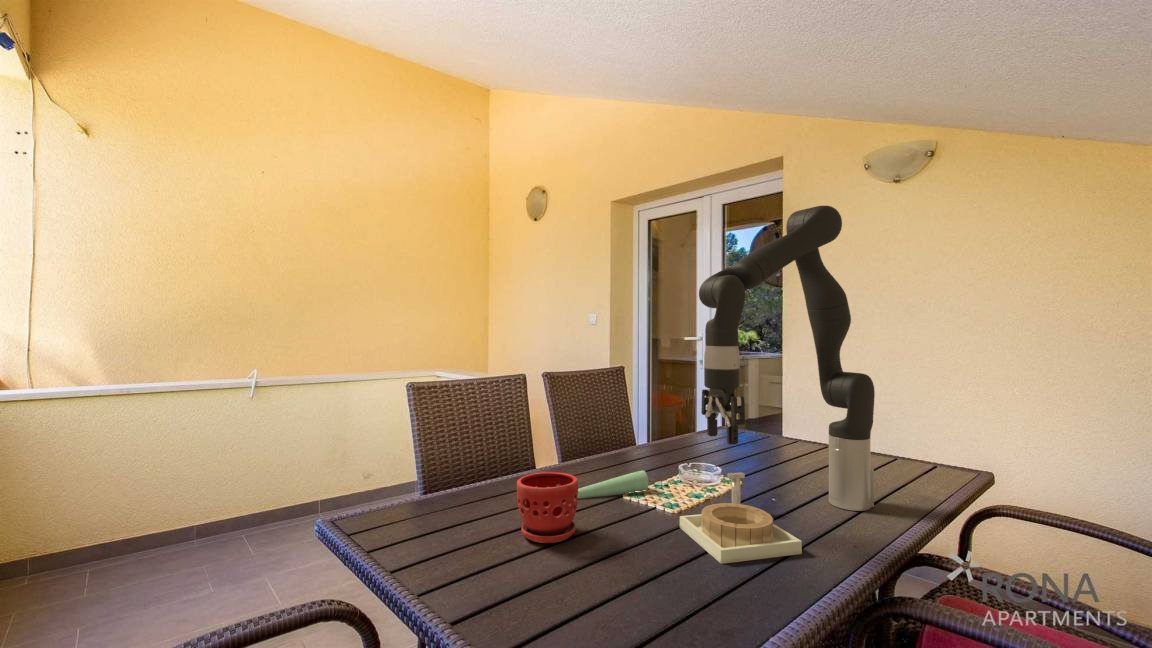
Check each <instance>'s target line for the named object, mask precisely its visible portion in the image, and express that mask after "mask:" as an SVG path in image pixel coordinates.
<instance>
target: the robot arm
mask: <svg viewBox="0 0 1152 648" xmlns="http://www.w3.org/2000/svg"><path fill="white" fill-rule="evenodd" d="M842 228H843V218H842V216H841V214H840V212H839V211H838V210H837V209H836V208H835V207H833V206H831V205H817V206H812V207H808V208H804V209H800V210H797V211H793V212H792V213H791V214H790V215H789V216H788V218H787V220H786V229H785V230H786V231H785V232H786V235H784V236H781V237H778V238H777V239H775V240H772V241H771V242H768V243H766V244H764V245H762V246H760V247H758V248H756V249H754V250H753V251H752V252H751V251H750V253H748V254H747V255H745V256H744V257H742V258H741V259H740V260H739V261H736V263H734V264H732V265H731V266H729V267H727V268H724V269H723V270H721V271H720V270H719V271H718V272H716V273H714V274H712V275H711V276H709V277H707V278H706V279H705V280H704V281H703V282H702V283H701V285H700V287H699V290H698V298H699V300H700V302H701V304H702V305H703V306H705V307H707V308H710V309H716V310H715V315H714V316H713V318H711V319H710V320H708V321H707V322H706V324H705V330H704V331H705V332H704V333H705V334H704V335H705V337H704V339H705V343H704V344H705V345H704V347H705V348H704V349H705V350H704V353H703V356H704V357H703V359H704V362H703V363H704V364H703V365H704V366H703V367H704V368H703V370H704V371H703V372H704V375H703V378H704V381H703V382H704V385H703V386H704V387H705V389H704V388H703V389H702V390H701V416H704V417H705V419H706V423H707V424H706V428H707V429H706V430H707V431H706V432H707V433H706V434H707V436H708V437H717V436H718V419H717V418H719V417H718V416H719V414H721V416H722V418H723V419H724V420H725V423H726V425H727V426H726V442H727V444H728V445H737V444H739V427H740V426H744V425H746V414H745V398H744V396H743V395H739V396H738V395H737V396H736V393H735V390H737V389H739V388H740V387H741V382H740V379H741V378H740V375H741V370H740V367H741V366H740V363H741V361H740V358H741V357H740V350H739V324H740V323H741V319H742V314H743V310H744V305H745V301H746V291H749V290H751V289H752V290H753V289H754V288H756V287H758V286H759V285H761V284H762V283H763V282H764V283H765V281H766V280H767V279H769V278H770V277H772V276H773V275H775V274H776V273H777V272H779V271H780V270H782V269H783V268H785V267H786V266H788V265H790V264H791V263H793V262H795V264H796V269H797V271H798V275H799V279H800V283H801V287H802V291H803V294H804V300H805V306H806V311H807V315H808V320H809V324H810V328H811V331H812V336H813V337H812V338H813V342H814V348H815V353H816V359H817V366H818V368H817V369H818V376H819V377H818V378H819V386H820V390H821V392H820V393H821V395H822V397H823V401H824V402H825V403H826V404H827V405H828V406H831V407H833V408H834V407H835V408H838V409H839V408H840V409H844V410H845V409H846V417H845V418H843V419H841V420H837V421H833V422H831V423H829V425H828V503H829V504H830V505H832V506H834V507H836V508H839V509H843V510H846V511H856V512H857V511H858V512H864V511H865V512H866V511H868V510H870V509H872V508H875V506H874V505H875V470H874V468H873V467H871V462H872V461H871V459H872V458H871V451H872V450H871V433H872V429H873V424H874V411H875V394H876V393H875V386H874V382H873V380H872V378H871V377H870V376H869V375H867V374H866V373H860V372H851V371H850V372H849V371H844V370H843V367H842V363H841V348H842V345H843V342H844V341H845V338H846V336H847V335H848V332H849V329H850V327H851V324H852V316H851V311H850V306H849V302H848V301H849V300H848V297H847V294H846V292H845V290H844V289H843V288H842V286H841V285H840V283H839V282H838V281H837V279H836V278H834V275H832V274H831V272H830V271H829V270H828V269H827V267H826V266H825V264H824V261H823V260H822V257H821V253H820V249H819V248H821V247H823V246H825V245H827V244H829V243H832V242H833V241H835V240H836V239H837V238H838V236H839V235H840V233H841V231H842ZM706 388H707V389H706Z"/></svg>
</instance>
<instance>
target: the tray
mask: <svg viewBox="0 0 1152 648" xmlns="http://www.w3.org/2000/svg"><path fill="white" fill-rule="evenodd" d="M679 529H681V530H682V531H683V532H684V533H685V534H687V536H688V537H690V538H691V539H692V540H693V541H694V542H696V544H698V545H699V546H700V547H701V548H702V549H704V550H705V551H706V552H707V553H708V555H710V556H712V557H713V558H714V559H715V560H716V561H717V562H719V564H729V563H731V564H732V563H739V562H745V561H754V560H764V559H771V558H780V557H787V556H789V557H790V556H795V555H802V554H803V551H802V550H803V549H802V548H803V545H802V544H803V543H802V542H803V541H802V540H801V539H799V538H797V537H796V536H794V535H793V534H791V533H789V532H788V531H786V530H784V529H783V528H781V527H780V526H778V525H776V524H774V523H773V542H772V543H763V544H755V545H746V546H737V547H728V548H722V547H721V546H719V545H718V544H717V543H716V542H714V541H713V540H712V539H711V538H710V537H708V536H707V535H706V534H705V533H703V532H702V513H700V514H692V515H690V514H689V515H681V516H679Z"/></svg>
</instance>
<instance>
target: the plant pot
mask: <svg viewBox="0 0 1152 648" xmlns="http://www.w3.org/2000/svg"><path fill="white" fill-rule="evenodd" d="M557 485H558V486H557ZM578 489H579V480H578V478H577V477H576V476H575V475H572V474H570V473H564V472H551V471H550V472H548V471H547V472H537V473H532V474H528V475H524V476H521V477H520V478H519V479H517V481H516V499H517V500H516V501H517V506H518V512H519V514H520V518H521V520H522V525H521V530H520V531H521V534H522V535H523V536H524V537H525V538H526V539H527V540H529V541H532V542H535V543H540V544H553V543H559V542H562V541H567V539H569V538H570V537H572V535H573V534H574V533H575V531H576V530H577V524H576V523H575V522H574V519H575V517H576V513H577V508H578V499H577V496H578Z"/></svg>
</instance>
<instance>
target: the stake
mask: <svg viewBox="0 0 1152 648" xmlns="http://www.w3.org/2000/svg"><path fill="white" fill-rule="evenodd" d="M745 474H746V473H744V472H729V473H727V475H726V476H727V477H726V479H727V478H728V479H729V480H731V503H733V504H741V479H745Z"/></svg>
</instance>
